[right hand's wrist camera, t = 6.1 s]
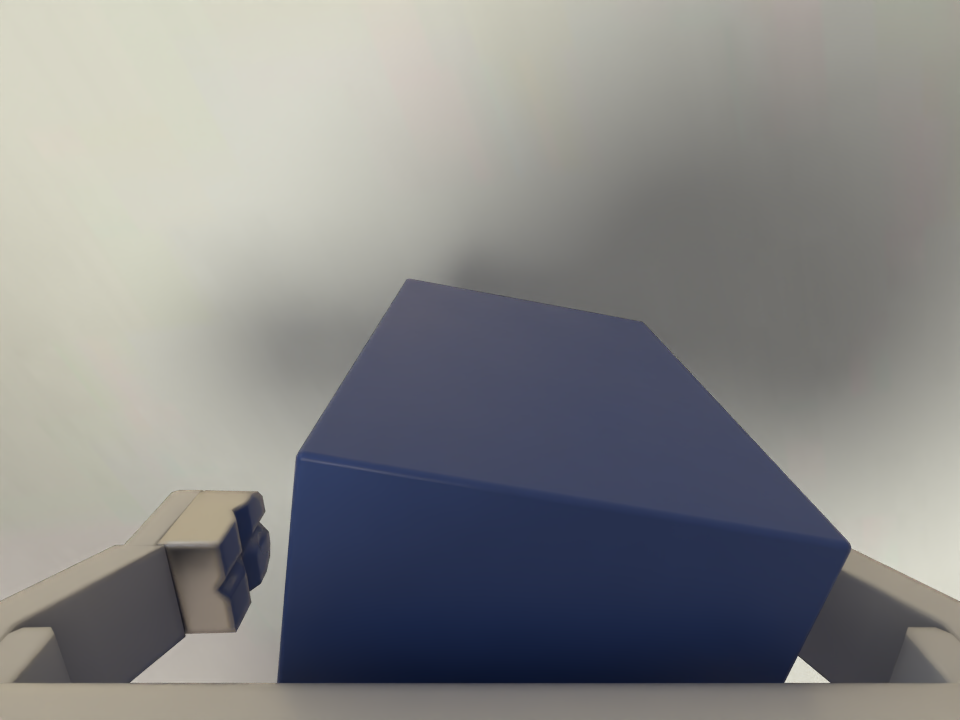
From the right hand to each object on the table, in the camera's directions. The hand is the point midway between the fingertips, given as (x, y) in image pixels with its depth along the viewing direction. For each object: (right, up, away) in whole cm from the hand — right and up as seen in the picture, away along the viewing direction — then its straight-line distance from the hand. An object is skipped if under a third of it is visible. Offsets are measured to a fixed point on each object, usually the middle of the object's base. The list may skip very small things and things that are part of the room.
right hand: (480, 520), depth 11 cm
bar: (-1, -6, +6) cm, 9 cm away
